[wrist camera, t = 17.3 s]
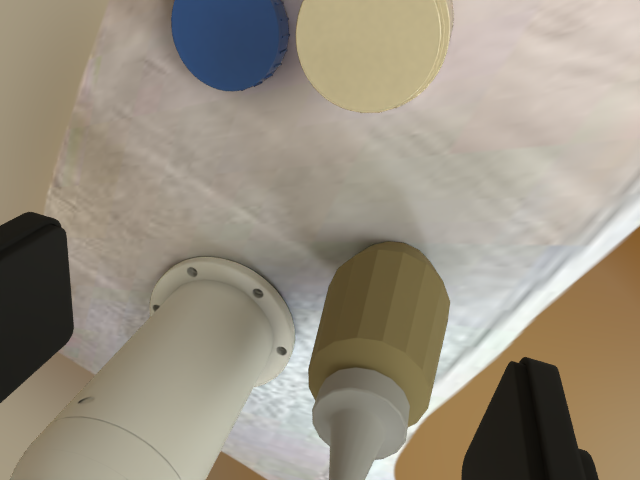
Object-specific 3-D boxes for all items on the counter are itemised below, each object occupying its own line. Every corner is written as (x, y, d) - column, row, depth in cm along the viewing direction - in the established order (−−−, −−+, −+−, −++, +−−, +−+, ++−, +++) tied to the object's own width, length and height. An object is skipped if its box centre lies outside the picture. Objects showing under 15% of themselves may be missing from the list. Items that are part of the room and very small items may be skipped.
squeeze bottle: (318, 279, 38) (219, 483, 23) (382, 203, 34) (314, 385, 19) (403, 340, 39) (364, 579, 23) (476, 272, 35) (487, 505, 19)
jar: (396, 101, 31) (368, 150, 22) (320, 26, 30) (258, 44, 21) (478, 17, 28) (485, 33, 19) (396, -70, 27) (362, -98, 18)
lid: (225, -63, 29) (211, -65, 28) (312, 25, 30) (304, 28, 29) (165, 32, 33) (150, 35, 31) (246, 109, 34) (235, 115, 32)
